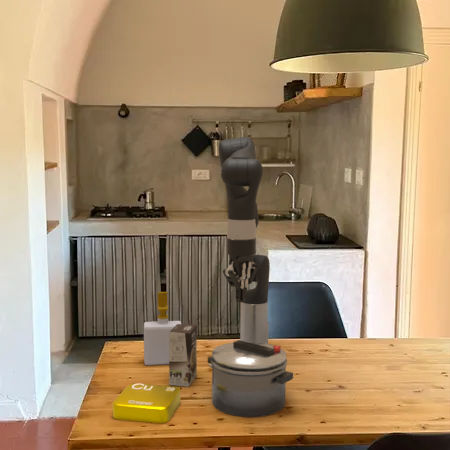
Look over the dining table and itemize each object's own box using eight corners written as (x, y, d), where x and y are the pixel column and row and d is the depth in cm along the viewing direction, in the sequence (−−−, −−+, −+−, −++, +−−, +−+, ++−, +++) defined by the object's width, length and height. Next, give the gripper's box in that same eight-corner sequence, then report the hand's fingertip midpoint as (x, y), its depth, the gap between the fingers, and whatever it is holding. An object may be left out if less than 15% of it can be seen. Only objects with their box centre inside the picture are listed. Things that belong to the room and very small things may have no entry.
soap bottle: (144, 366, 192) (143, 293, 189) (144, 359, 198) (143, 289, 196) (182, 364, 194) (182, 292, 191) (181, 357, 200) (181, 288, 198)
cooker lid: (241, 341, 178) (241, 332, 178) (300, 356, 166) (300, 346, 165) (197, 358, 162) (197, 347, 162) (258, 375, 150) (258, 364, 150)
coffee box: (189, 387, 175) (189, 333, 173) (168, 385, 176) (168, 331, 174) (197, 375, 184) (197, 324, 182) (177, 374, 185) (177, 322, 183)
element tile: (110, 420, 154) (109, 402, 154) (130, 397, 169) (130, 380, 168) (166, 425, 151) (166, 407, 151) (182, 401, 166) (182, 384, 165)
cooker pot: (237, 378, 182) (237, 339, 181) (309, 399, 167) (310, 357, 165) (189, 401, 165) (189, 358, 164) (264, 427, 150) (265, 380, 148)
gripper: (244, 232, 164) (244, 294, 166) (214, 237, 154) (213, 304, 156) (267, 234, 160) (266, 299, 162) (237, 240, 149) (237, 309, 151)
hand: (240, 301), depth 159 cm, fingers closed
